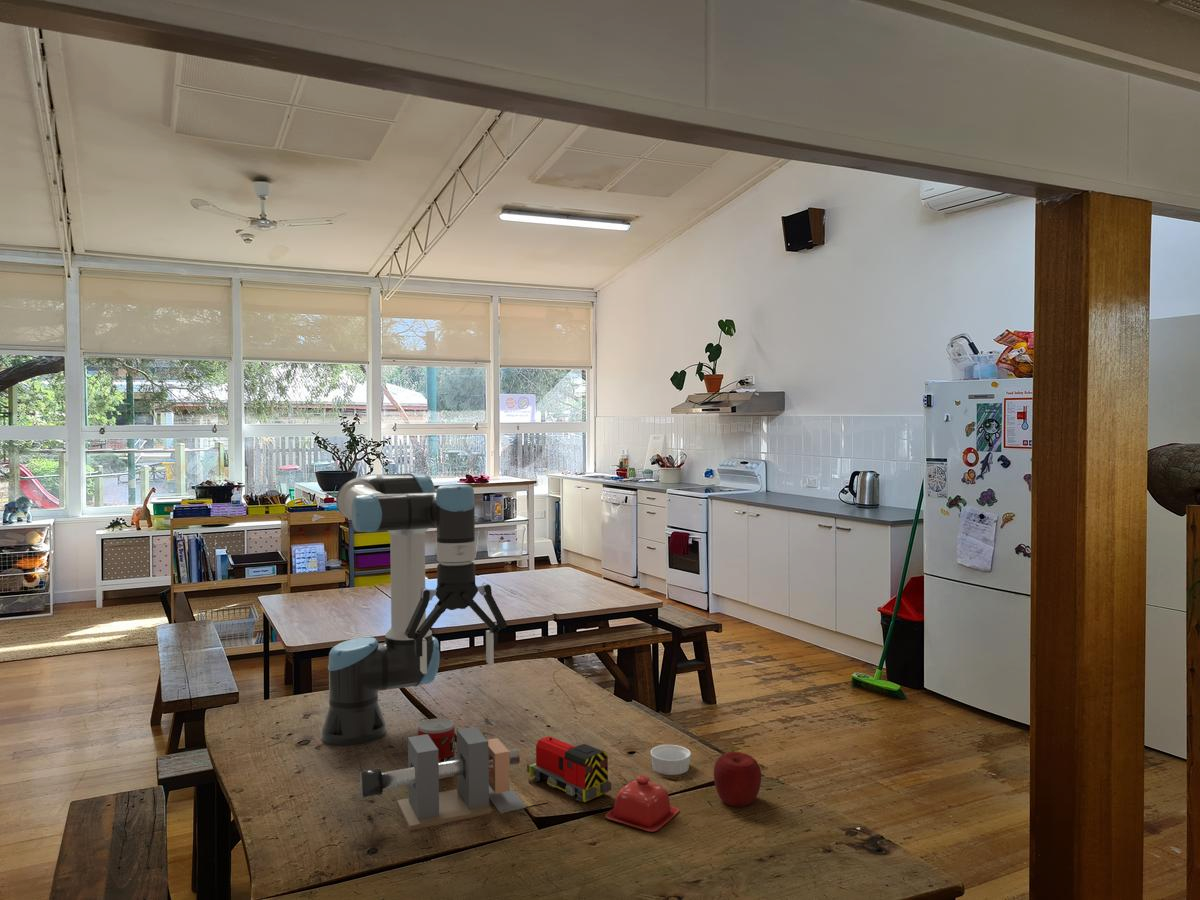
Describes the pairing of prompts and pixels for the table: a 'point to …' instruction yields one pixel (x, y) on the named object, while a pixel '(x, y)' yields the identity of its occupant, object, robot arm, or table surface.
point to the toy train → (571, 768)
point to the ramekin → (670, 759)
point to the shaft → (377, 781)
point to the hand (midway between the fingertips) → (457, 667)
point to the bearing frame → (424, 794)
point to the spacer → (499, 766)
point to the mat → (506, 801)
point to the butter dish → (642, 805)
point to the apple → (737, 778)
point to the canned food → (440, 736)
